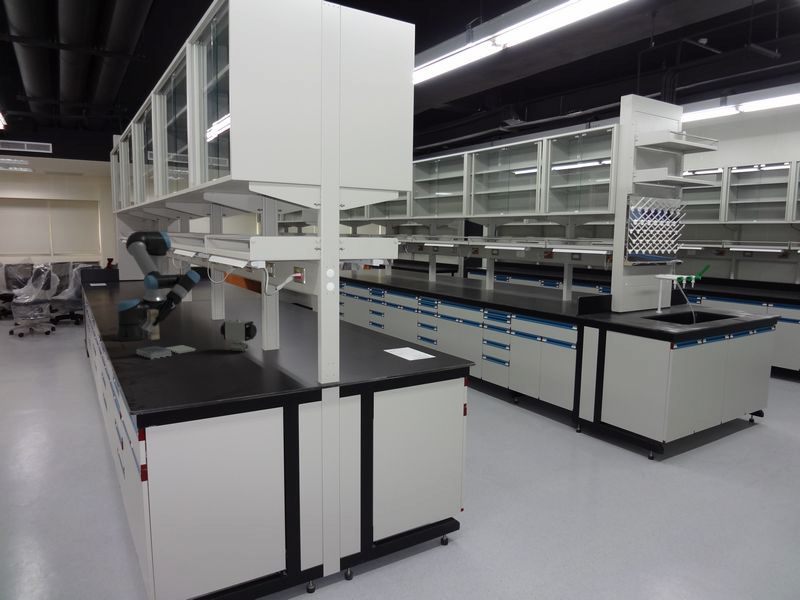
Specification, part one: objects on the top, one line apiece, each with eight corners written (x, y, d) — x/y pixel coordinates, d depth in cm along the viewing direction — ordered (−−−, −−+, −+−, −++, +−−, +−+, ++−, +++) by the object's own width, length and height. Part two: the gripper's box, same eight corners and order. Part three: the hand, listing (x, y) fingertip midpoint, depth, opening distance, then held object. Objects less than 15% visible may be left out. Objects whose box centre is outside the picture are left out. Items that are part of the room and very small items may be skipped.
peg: (148, 338, 263) (146, 309, 261) (155, 337, 266) (154, 309, 264) (151, 340, 260) (150, 310, 258) (159, 338, 263) (158, 310, 261)
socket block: (136, 354, 265) (136, 348, 265) (156, 351, 273) (156, 345, 273) (151, 359, 255) (150, 353, 255) (171, 356, 263) (171, 350, 263)
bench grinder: (258, 350, 280) (258, 318, 278) (250, 353, 272) (249, 320, 270) (229, 348, 284) (228, 316, 282) (220, 351, 276) (219, 318, 274)
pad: (164, 349, 278) (164, 347, 278) (182, 346, 285) (182, 345, 285) (177, 353, 269) (177, 351, 269) (195, 350, 276) (195, 348, 276)
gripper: (189, 301, 267) (159, 336, 256) (173, 298, 278) (143, 332, 267) (179, 291, 262) (148, 327, 252) (163, 288, 273) (132, 323, 262)
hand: (145, 329), depth 259 cm, fingers closed on peg, 4 cm apart
